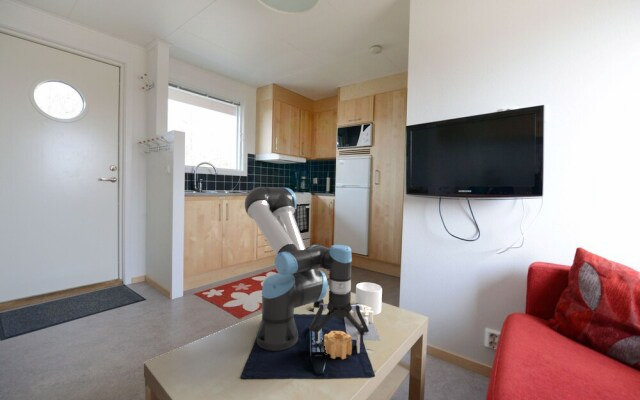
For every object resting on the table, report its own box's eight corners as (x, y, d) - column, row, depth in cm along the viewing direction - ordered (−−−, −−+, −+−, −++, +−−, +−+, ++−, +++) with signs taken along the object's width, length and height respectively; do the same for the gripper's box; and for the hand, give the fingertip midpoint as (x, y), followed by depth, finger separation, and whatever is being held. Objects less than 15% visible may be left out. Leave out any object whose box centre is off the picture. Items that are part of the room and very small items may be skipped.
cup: (379, 307, 129) (380, 283, 129) (382, 319, 118) (383, 292, 117) (354, 305, 130) (355, 281, 130) (355, 317, 119) (356, 290, 118)
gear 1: (324, 358, 89) (324, 344, 89) (323, 342, 99) (324, 328, 99) (352, 359, 89) (353, 344, 89) (349, 342, 99) (350, 329, 99)
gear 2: (350, 325, 108) (351, 313, 108) (348, 314, 118) (348, 303, 118) (374, 326, 108) (375, 313, 108) (370, 314, 118) (370, 303, 118)
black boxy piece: (319, 303, 134) (319, 294, 134) (331, 306, 130) (332, 297, 130) (304, 312, 123) (305, 302, 123) (318, 316, 119) (318, 306, 119)
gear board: (347, 343, 98) (348, 323, 98) (343, 318, 117) (343, 301, 117) (380, 344, 98) (381, 324, 98) (370, 319, 117) (371, 302, 117)
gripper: (302, 293, 89) (301, 356, 90) (378, 295, 89) (376, 357, 90) (304, 285, 97) (303, 343, 98) (373, 287, 97) (372, 345, 97)
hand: (338, 350), depth 94 cm, fingers open, 13 cm apart
